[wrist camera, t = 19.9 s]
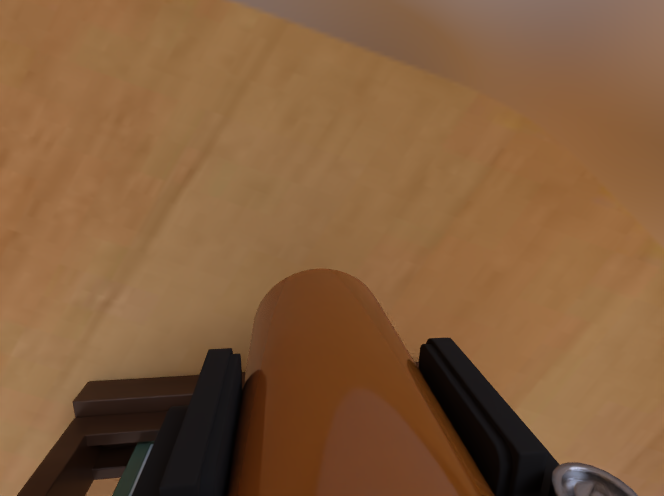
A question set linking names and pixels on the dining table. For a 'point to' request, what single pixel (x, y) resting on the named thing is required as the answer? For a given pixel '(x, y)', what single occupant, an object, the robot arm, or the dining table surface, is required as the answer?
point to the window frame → (108, 432)
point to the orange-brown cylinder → (340, 402)
